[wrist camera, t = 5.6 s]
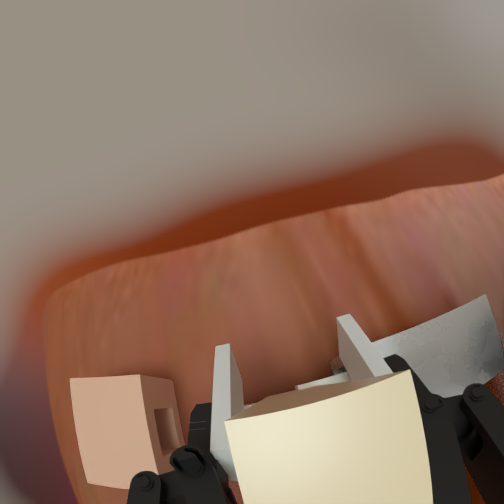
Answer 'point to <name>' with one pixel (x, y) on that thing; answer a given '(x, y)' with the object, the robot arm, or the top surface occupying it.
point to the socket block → (125, 426)
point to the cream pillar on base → (334, 444)
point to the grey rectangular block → (448, 349)
